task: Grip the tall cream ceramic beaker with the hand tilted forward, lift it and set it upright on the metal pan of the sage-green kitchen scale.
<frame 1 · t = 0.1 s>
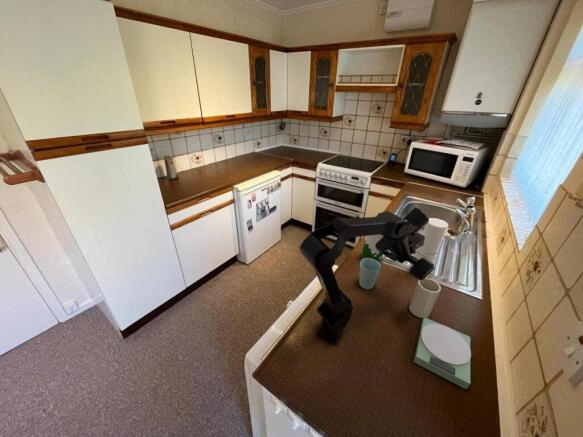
hand: (406, 268, 83), 15 cm above the countertop, tool tilted 35°, fingers open, 9 cm apart
beaker: (419, 310, 85), on the countertop
cylindrical container: (419, 272, 103), on the countertop
milk carton: (371, 259, 110), on the countertop
cup: (366, 284, 96), on the countertop
kitchen scale: (441, 351, 72), on the countertop
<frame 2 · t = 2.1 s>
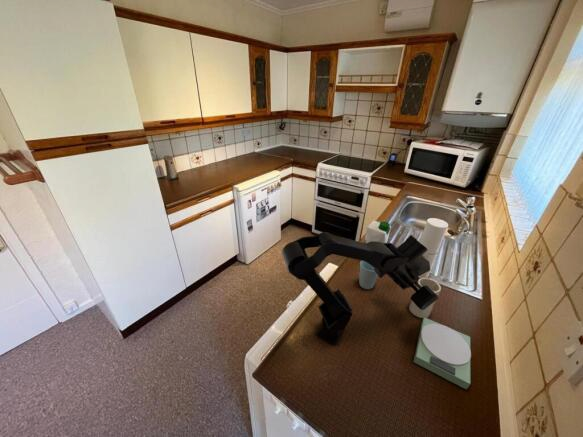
hand: (418, 290, 79), 11 cm above the countertop, tool tilted 45°, fingers open, 9 cm apart
nothing on the countertop moved.
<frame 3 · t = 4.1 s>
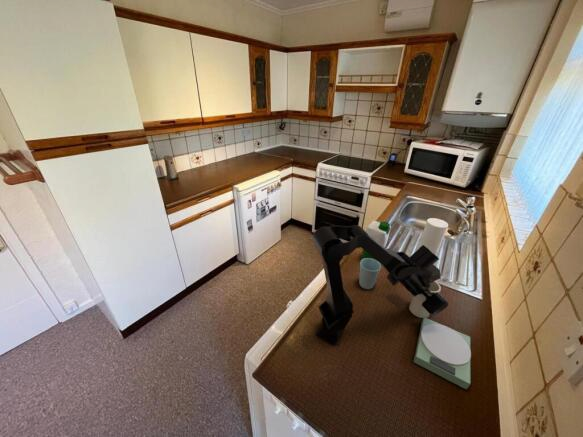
hand: (427, 296, 82), 7 cm above the countertop, tool tilted 45°, fingers closed on beaker, 7 cm apart
beaker: (419, 310, 85), on the countertop, touching gripper
everything else where it was.
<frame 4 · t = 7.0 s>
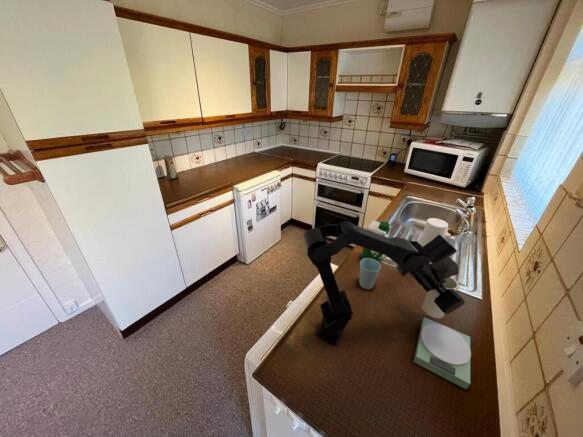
hand: (443, 294, 75), 13 cm above the countertop, tool tilted 45°, fingers closed on beaker, 7 cm apart
beaker: (433, 309, 78), point 6 cm above the countertop, touching gripper
everything else where it was.
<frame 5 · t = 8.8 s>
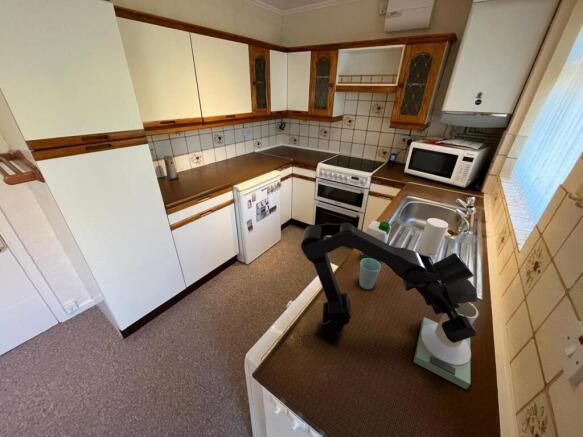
hand: (460, 322, 66), 13 cm above the countertop, tool tilted 45°, fingers closed on beaker, 7 cm apart
beaker: (447, 336, 70), point 6 cm above the countertop, touching gripper
everything else where it was.
when the fingers open (10 cm above the countertop, at t = 10.2 s): beaker stays where it is, resting on kitchen scale.
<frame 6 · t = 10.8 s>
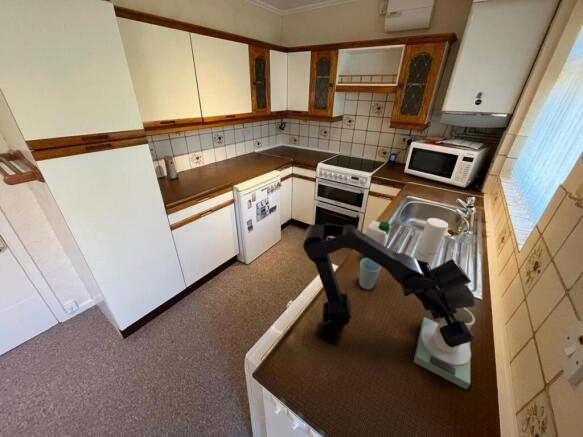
hand: (459, 326, 67), 11 cm above the countertop, tool tilted 45°, fingers open, 9 cm apart
beaker: (445, 342, 71), point 3 cm above the countertop, touching kitchen scale
everything else where it was.
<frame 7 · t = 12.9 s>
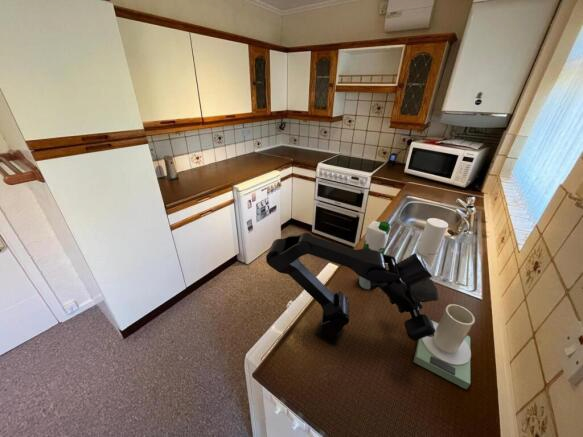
hand: (426, 321, 68), 12 cm above the countertop, tool tilted 45°, fingers open, 9 cm apart
nothing on the countertop moved.
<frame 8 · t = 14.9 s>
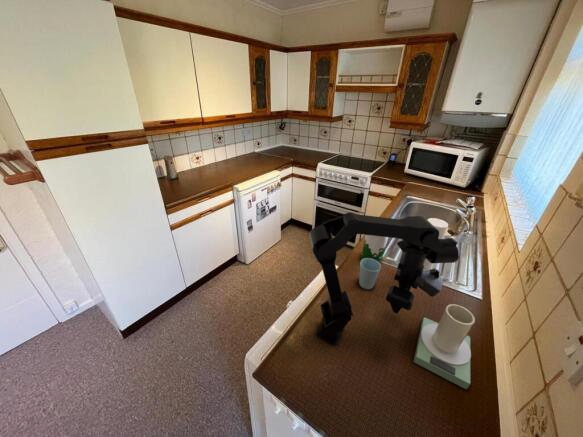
hand: (398, 301, 72), 13 cm above the countertop, tool pointing down, fingers open, 9 cm apart
nothing on the countertop moved.
at the end: beaker inside the target area on the kitchen scale (0.0 cm from its centre), point 3.4 cm above the kitchen scale's base; beaker tilted 0°; the gripper is holding nothing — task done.
